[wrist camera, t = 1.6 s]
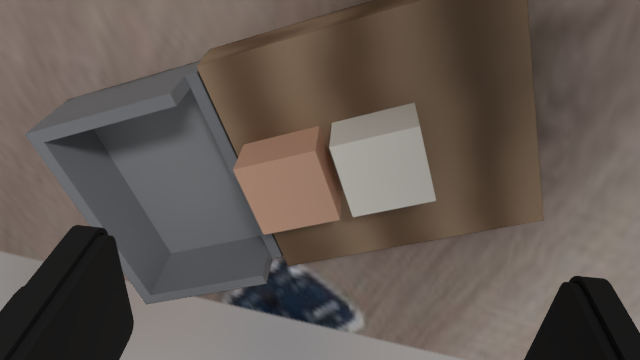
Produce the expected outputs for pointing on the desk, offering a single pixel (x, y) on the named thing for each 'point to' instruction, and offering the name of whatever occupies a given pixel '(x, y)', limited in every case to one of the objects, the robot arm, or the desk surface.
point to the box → (159, 184)
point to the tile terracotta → (289, 181)
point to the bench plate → (392, 91)
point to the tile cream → (382, 160)
